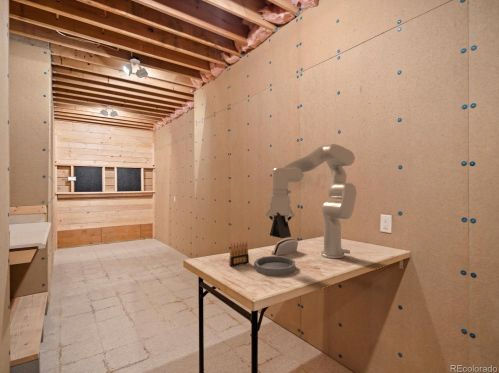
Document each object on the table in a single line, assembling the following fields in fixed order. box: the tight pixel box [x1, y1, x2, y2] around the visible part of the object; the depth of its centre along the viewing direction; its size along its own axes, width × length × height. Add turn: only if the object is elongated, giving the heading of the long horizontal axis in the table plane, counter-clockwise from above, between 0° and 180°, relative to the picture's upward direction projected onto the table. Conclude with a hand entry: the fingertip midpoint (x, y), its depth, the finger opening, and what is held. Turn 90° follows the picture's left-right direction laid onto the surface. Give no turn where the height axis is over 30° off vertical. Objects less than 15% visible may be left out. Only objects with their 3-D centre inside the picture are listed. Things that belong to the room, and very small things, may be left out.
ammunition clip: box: [228, 240, 250, 268], centre depth 133 cm, size 11×2×12 cm, turn 119°
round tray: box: [253, 255, 296, 277], centre depth 127 cm, size 20×20×3 cm
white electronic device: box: [271, 237, 299, 256], centre depth 153 cm, size 17×5×10 cm, turn 125°
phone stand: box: [269, 213, 292, 239], centre depth 126 cm, size 9×6×12 cm, turn 38°
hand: (280, 229), depth 126 cm, fingers closed on phone stand, 4 cm apart
